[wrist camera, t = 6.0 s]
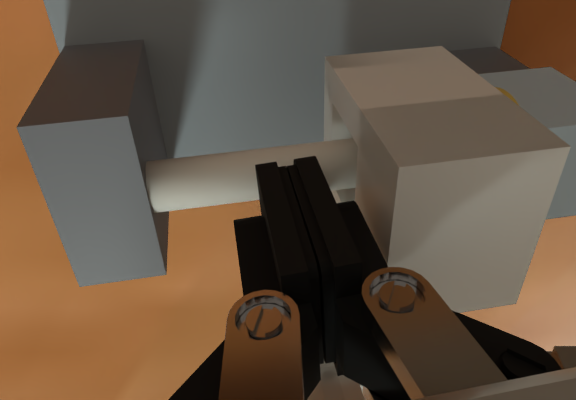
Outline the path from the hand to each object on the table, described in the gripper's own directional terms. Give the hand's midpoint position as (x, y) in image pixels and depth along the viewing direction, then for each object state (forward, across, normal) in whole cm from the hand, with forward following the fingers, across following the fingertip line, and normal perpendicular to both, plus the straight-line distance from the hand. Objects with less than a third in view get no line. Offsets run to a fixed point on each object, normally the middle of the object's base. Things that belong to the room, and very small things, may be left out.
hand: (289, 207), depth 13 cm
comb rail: (+7, -1, 0) cm, 7 cm away
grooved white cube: (+4, -4, 0) cm, 5 cm away
